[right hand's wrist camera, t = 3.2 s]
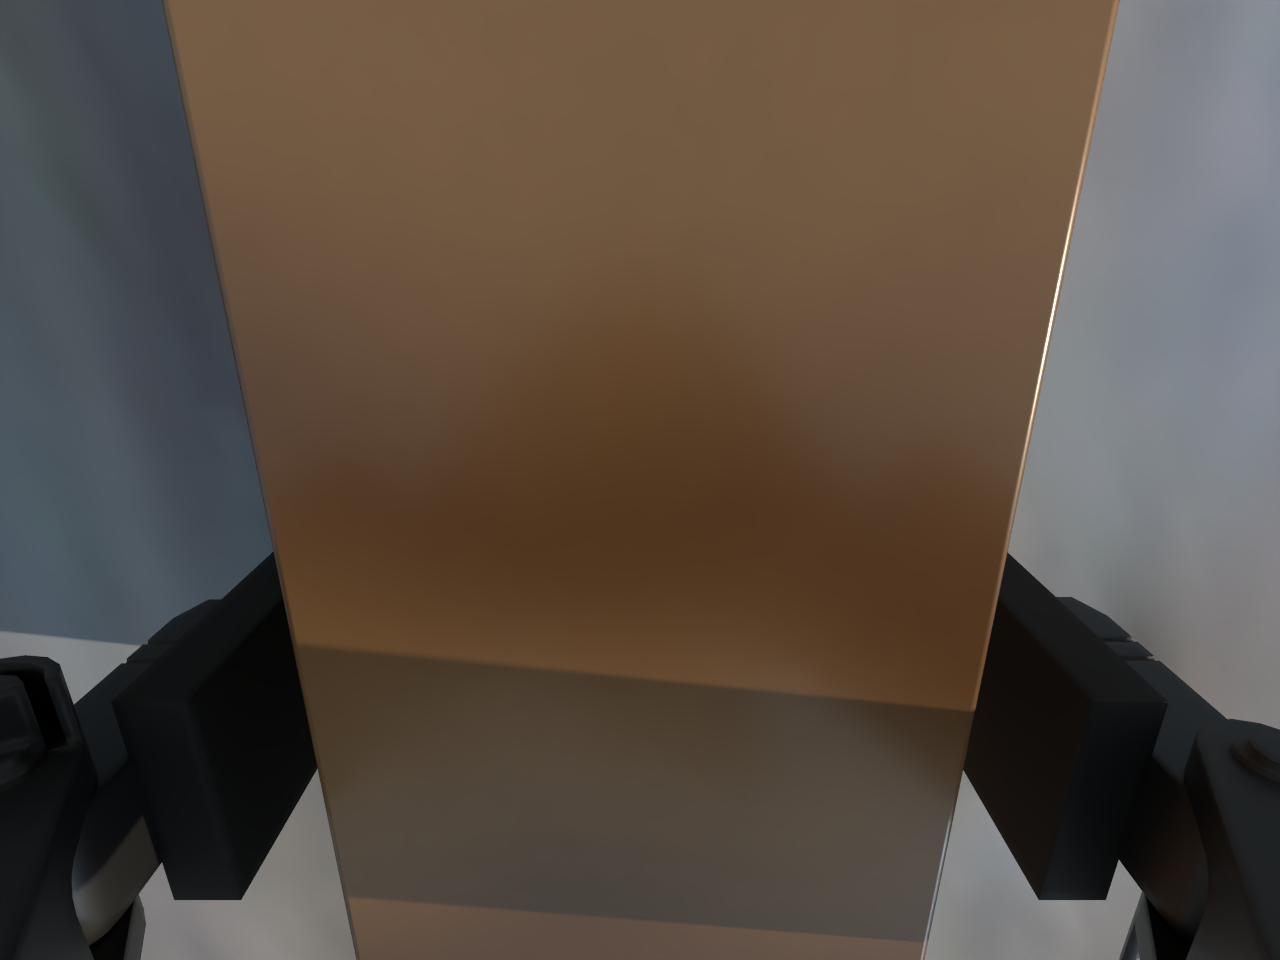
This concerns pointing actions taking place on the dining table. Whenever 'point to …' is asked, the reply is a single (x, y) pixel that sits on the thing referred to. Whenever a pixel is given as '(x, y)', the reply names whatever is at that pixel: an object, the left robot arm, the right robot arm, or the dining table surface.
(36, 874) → the right robot arm
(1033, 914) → the dining table surface
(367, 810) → the post
